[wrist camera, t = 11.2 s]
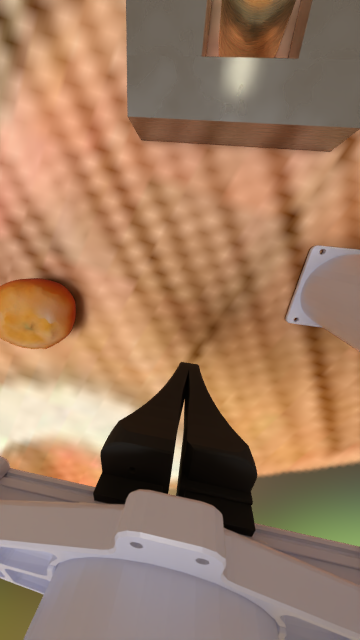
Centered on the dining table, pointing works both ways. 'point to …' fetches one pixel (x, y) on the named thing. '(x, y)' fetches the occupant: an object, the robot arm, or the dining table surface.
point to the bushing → (253, 27)
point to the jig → (243, 79)
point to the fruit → (35, 313)
